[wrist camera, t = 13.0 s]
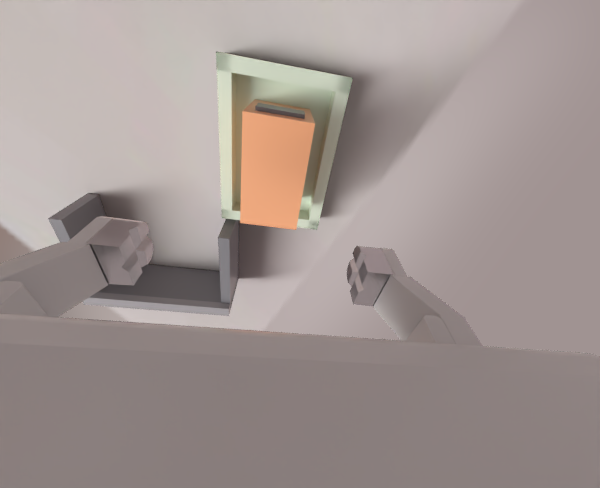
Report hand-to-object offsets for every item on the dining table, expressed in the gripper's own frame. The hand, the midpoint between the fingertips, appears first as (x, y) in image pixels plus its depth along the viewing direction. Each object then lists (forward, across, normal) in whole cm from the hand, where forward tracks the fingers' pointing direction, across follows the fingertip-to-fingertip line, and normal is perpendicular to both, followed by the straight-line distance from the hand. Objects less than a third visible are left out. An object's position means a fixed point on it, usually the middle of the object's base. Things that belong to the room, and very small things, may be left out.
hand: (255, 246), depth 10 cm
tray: (+15, 0, +1) cm, 16 cm away
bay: (+15, +11, +13) cm, 23 cm away
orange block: (+15, 0, +1) cm, 15 cm away
